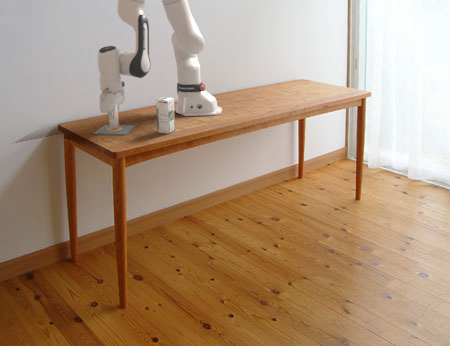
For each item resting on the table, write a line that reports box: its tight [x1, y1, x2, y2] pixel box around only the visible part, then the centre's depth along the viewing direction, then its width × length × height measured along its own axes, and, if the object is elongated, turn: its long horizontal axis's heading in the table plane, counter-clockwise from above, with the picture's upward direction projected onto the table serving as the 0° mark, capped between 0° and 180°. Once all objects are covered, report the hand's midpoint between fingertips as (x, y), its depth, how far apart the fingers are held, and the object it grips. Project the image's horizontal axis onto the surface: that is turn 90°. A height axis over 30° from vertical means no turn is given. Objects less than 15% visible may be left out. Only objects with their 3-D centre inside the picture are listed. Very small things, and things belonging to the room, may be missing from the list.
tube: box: [108, 105, 120, 128], centre depth 236 cm, size 4×4×10 cm
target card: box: [93, 124, 136, 136], centre depth 238 cm, size 14×13×1 cm
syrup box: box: [155, 96, 176, 134], centre depth 233 cm, size 6×6×14 cm
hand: (113, 117), depth 236 cm, fingers closed on tube, 4 cm apart
